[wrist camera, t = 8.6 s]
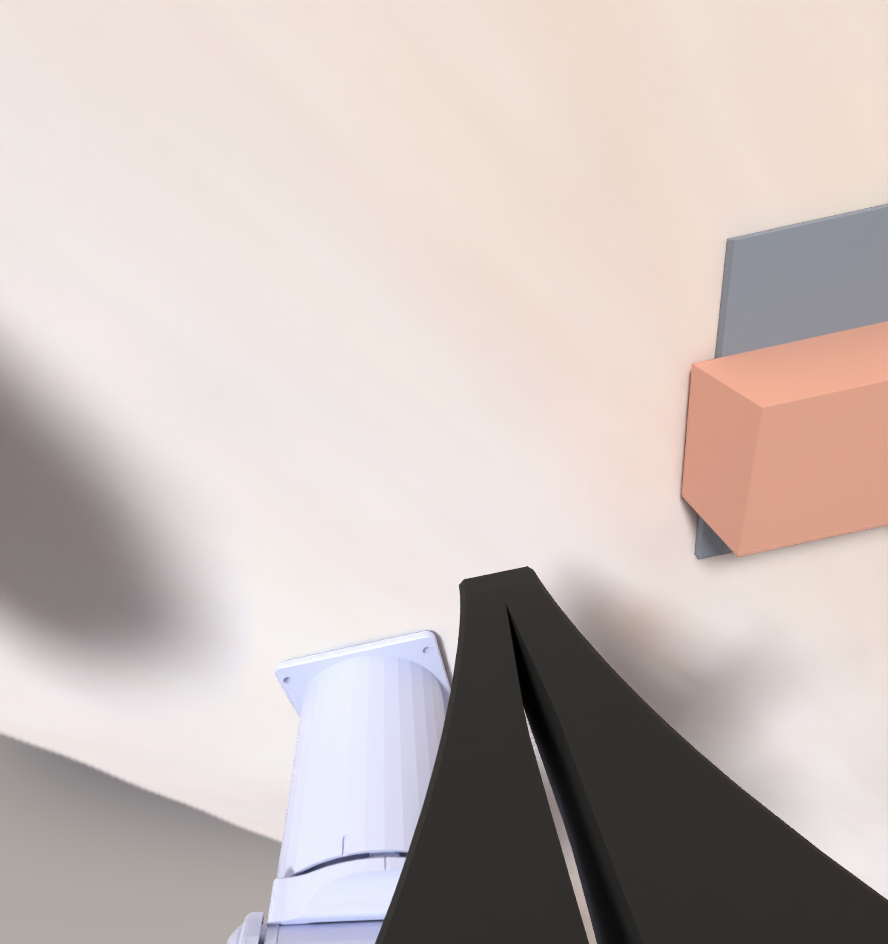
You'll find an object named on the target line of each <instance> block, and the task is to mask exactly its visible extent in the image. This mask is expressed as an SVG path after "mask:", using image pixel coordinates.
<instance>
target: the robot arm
mask: <svg viewBox="0 0 888 944" xmlns="http://www.w3.org/2000/svg"><path fill="white" fill-rule="evenodd" d="M459 589H460V626H459V637H458V647H457V654H456V661H455V667H454V674H453V681H452V687H451V688H450V684H449V681H448V678H447V674H446V671H445V667H444V664H443V660H442V657H441V654H440V650H439V647H438V643H437V640H436V636H435V635H434V633H432V632H430V631H422V632H417V633H413V634H408V635H403V636H399V637H394V638H390V639H385V640H380V641H376V642H371V643H366V644H362V645H357V646H352V647H348V648H343V649H339V650H334V651H329V652H325V653H320V654H315V655H311V656H306V657H301V658H297V659H292V660H288V661H283V662H280V663H278V664H277V665H276V668H275V676H276V678H277V679H278V681H279V683H280V685H281V686H282V688H283V690H284V691H285V693H286V695H287V697H288V698H289V700H290V702H291V704H292V705H293V707H294V709H295V710H296V712H297V714H298V716H299V717H300V723H299V730H298V737H297V744H296V750H295V757H294V764H293V771H292V778H291V785H290V791H289V798H288V805H287V812H286V819H285V825H284V832H283V839H282V846H281V853H280V859H279V866H278V873H277V878H276V879H275V880H274V882H273V888H272V895H271V902H270V908H269V915H268V922H267V924H263V920H264V912H252V913H249V914H248V915H247V916H246V917H245V920H244V923H243V924H242V925H240V926H239V927H238V928H237V929H236V930H235V931H234V932H233V933H232V934H231V935H230V937H229V939H228V941H227V944H589V942H588V938H587V935H586V932H585V928H584V925H583V921H582V918H581V915H580V911H579V908H578V904H577V901H576V897H575V894H574V891H573V887H572V884H571V880H570V877H569V873H568V870H567V866H566V863H565V859H564V856H563V852H562V849H561V846H560V842H559V839H558V835H557V832H556V828H555V825H554V821H553V818H552V814H551V811H550V807H549V804H548V800H547V796H546V793H545V789H544V786H543V782H542V779H541V775H540V771H539V768H538V764H537V761H536V757H535V754H534V750H533V746H532V743H531V739H530V736H529V731H528V727H527V722H526V718H525V713H526V716H527V719H528V722H529V724H530V727H531V730H532V733H533V736H534V739H535V742H536V745H537V747H538V750H539V753H540V756H541V759H542V762H543V765H544V767H545V770H546V773H547V776H548V779H549V782H550V785H551V787H552V790H553V793H554V796H555V799H556V802H557V805H558V808H559V810H560V813H561V816H562V819H563V822H564V825H565V828H566V832H567V835H568V838H569V841H570V844H571V848H572V851H573V854H574V858H575V862H576V866H577V869H578V873H579V877H580V881H581V884H582V888H583V892H584V896H585V899H586V903H587V907H588V911H589V914H590V918H591V922H592V926H593V930H594V933H595V937H596V941H597V944H888V900H887V899H886V898H884V897H883V896H882V895H880V894H879V893H877V892H876V891H875V890H873V889H872V888H871V887H869V886H868V885H867V884H865V883H864V882H863V881H861V880H860V879H858V878H857V877H856V876H854V875H853V874H852V873H850V872H849V871H848V870H846V869H845V868H843V867H842V866H841V865H839V864H838V863H837V862H835V861H834V860H833V859H831V858H830V857H829V856H827V855H826V854H824V853H823V852H822V851H820V850H819V849H818V848H817V847H815V846H814V845H813V844H812V843H810V842H809V841H808V840H806V839H805V838H804V837H803V836H801V835H800V834H799V833H798V832H796V831H795V830H794V829H793V828H791V827H790V826H789V825H787V824H786V823H785V822H784V821H782V820H781V819H780V818H779V817H777V816H776V815H775V814H773V813H772V812H771V811H770V810H768V809H767V808H766V807H765V806H763V805H762V804H761V803H760V802H758V801H757V800H756V799H754V798H753V797H752V796H751V795H749V794H748V793H747V792H746V791H744V790H743V789H742V788H741V787H739V786H738V785H737V784H736V783H735V782H733V781H732V780H731V779H730V778H729V777H728V776H726V775H725V774H724V773H723V772H722V771H721V770H719V769H718V768H717V767H716V766H715V765H714V764H712V763H711V762H710V761H709V760H708V759H707V758H705V757H704V756H703V755H702V754H701V753H700V752H698V751H697V750H696V749H695V748H694V747H693V746H692V745H691V744H690V743H688V742H687V741H686V740H685V739H684V738H683V737H682V736H681V735H680V734H678V733H677V732H676V731H675V730H674V729H673V728H672V727H671V726H670V725H669V724H668V723H666V722H665V721H664V720H663V719H662V718H661V717H660V716H659V715H658V714H657V713H656V712H655V711H654V710H653V709H652V708H651V707H650V706H649V705H648V704H647V703H646V702H645V701H644V700H643V699H642V698H641V697H640V696H639V695H638V694H637V693H636V692H635V691H634V690H633V689H632V688H631V687H630V686H629V685H628V684H627V683H626V682H625V681H624V680H623V679H622V678H621V677H620V676H619V675H618V674H617V673H616V672H615V671H614V670H613V669H612V668H611V666H610V665H609V664H608V663H607V662H606V661H605V660H604V659H603V658H602V657H601V655H600V654H599V653H598V652H597V651H596V650H595V649H594V648H593V646H592V645H591V644H590V643H589V642H588V641H587V640H586V639H585V637H584V636H583V635H582V634H581V633H580V632H579V631H578V629H577V628H576V627H575V626H574V625H573V623H572V622H571V621H570V620H569V618H568V617H567V616H566V615H565V613H564V612H563V611H562V610H561V608H560V607H559V606H558V605H557V603H556V602H555V601H554V599H553V598H552V597H551V595H550V594H549V592H548V591H547V590H546V588H545V587H544V585H543V584H542V582H541V581H540V579H539V578H538V576H537V575H536V573H535V571H534V570H533V569H531V568H529V567H528V566H527V567H522V568H517V569H512V570H508V571H503V572H498V573H493V574H488V575H483V576H478V577H474V578H469V579H464V580H463V581H462V582H461V583H460V585H459ZM426 647H427V648H426ZM523 707H524V708H523ZM524 710H525V713H524Z"/></svg>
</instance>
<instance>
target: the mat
mask: <svg viewBox="0 0 888 944" xmlns="http://www.w3.org/2000/svg"><path fill="white" fill-rule="evenodd" d="M886 321H888V204H885V205H880V206H875V207H871V208H866V209H862V210H857V211H853V212H848V213H844V214H839V215H834V216H830V217H825V218H821V219H816V220H812V221H807V222H802V223H798V224H793V225H789V226H784V227H780V228H775V229H771V230H766V231H761V232H757V233H752V234H748V235H743V236H739V237H734V238H729V239H727V248H726V257H725V267H724V276H723V286H722V296H721V305H720V315H719V324H718V334H717V344H716V353H715V359H717V358H721V357H726V356H730V355H735V354H739V353H744V352H749V351H753V350H758V349H762V348H767V347H772V346H776V345H781V344H785V343H790V342H795V341H799V340H804V339H808V338H813V337H818V336H822V335H827V334H831V333H836V332H840V331H845V330H850V329H854V328H859V327H863V326H868V325H873V324H877V323H882V322H886ZM731 552H733V551H732V550H731V549H730V548H729V547H728V546H727V545H726V543H725V542H724V541H723V540H722V539H721V538H720V537H719V536H718V535H717V534H716V533H715V532H714V530H713V529H712V528H711V527H710V526H709V525H708V524H707V523H706V522H705V521H704V520H703V519H702V517H701V516H700V515H699V517H698V526H697V536H696V546H695V555H696V556H697V557H698V558H699V559H703V558H707V557H712V556H717V555H721V554H726V553H731Z"/></svg>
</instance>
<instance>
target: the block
mask: <svg viewBox="0 0 888 944" xmlns="http://www.w3.org/2000/svg"><path fill="white" fill-rule="evenodd" d="M682 497H683V498H684V499H685V500H686V501H687V502H688V503H689V504H690V505H691V507H692V508H693V509H694V510H695V511H696V512H697V513H698V514H699V515H700V516H701V517H702V519H703V520H704V521H705V522H706V523H707V524H708V525H709V526H710V527H711V528H712V529H713V530H714V532H715V533H716V534H717V535H718V536H719V537H720V538H721V539H722V540H723V541H724V542H725V543H726V545H727V546H728V547H729V548H730V549H731V550H732V551H733V552H734V553H735V554H736V555H737V557H740V556H745V555H749V554H754V553H758V552H763V551H768V550H772V549H777V548H782V547H786V546H791V545H796V544H800V543H805V542H809V541H814V540H819V539H823V538H828V537H833V536H837V535H842V534H847V533H851V532H856V531H860V530H865V529H870V528H874V527H879V526H884V525H888V321H886V322H882V323H877V324H873V325H868V326H863V327H859V328H854V329H850V330H845V331H840V332H836V333H831V334H827V335H822V336H818V337H813V338H808V339H804V340H799V341H795V342H790V343H785V344H781V345H776V346H772V347H767V348H762V349H758V350H753V351H749V352H744V353H739V354H735V355H730V356H726V357H721V358H717V359H712V360H707V361H703V362H698V363H694V364H692V371H691V383H690V396H689V408H688V421H687V434H686V446H685V459H684V471H683V484H682Z"/></svg>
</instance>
